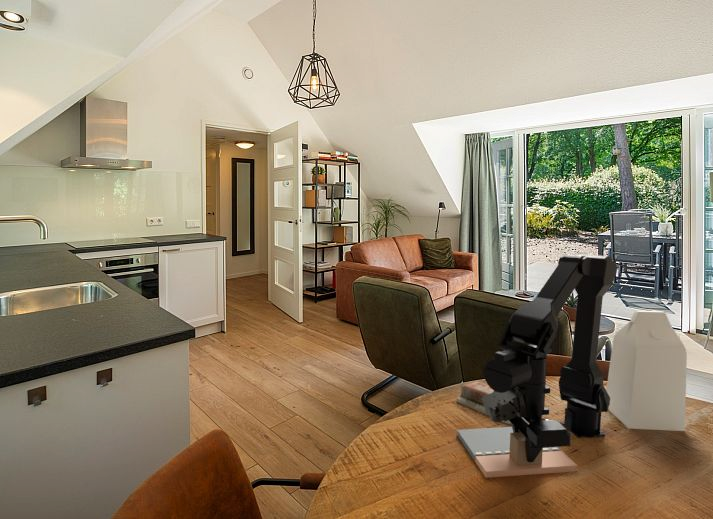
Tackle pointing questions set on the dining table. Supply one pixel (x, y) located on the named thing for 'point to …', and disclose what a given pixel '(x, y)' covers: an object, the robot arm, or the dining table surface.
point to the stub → (523, 461)
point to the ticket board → (489, 441)
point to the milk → (648, 374)
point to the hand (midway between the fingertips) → (525, 456)
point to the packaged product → (475, 396)
